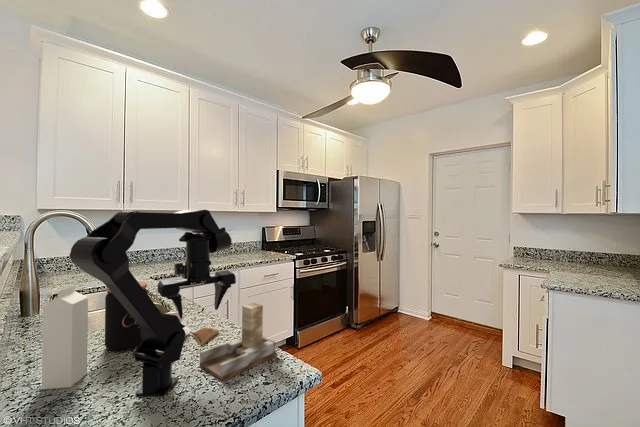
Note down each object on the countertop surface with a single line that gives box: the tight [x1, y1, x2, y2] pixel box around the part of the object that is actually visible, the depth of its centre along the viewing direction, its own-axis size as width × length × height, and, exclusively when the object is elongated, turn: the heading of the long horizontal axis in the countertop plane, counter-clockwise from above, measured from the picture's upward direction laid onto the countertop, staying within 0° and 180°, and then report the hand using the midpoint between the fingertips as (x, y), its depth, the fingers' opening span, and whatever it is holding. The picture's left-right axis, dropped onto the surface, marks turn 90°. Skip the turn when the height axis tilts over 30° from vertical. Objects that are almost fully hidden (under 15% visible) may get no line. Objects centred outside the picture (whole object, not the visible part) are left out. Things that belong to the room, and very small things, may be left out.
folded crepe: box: [191, 327, 220, 346], centre depth 96 cm, size 11×8×2 cm
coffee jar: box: [104, 281, 148, 353], centre depth 90 cm, size 11×11×18 cm
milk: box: [41, 284, 89, 390], centre depth 70 cm, size 6×6×22 cm
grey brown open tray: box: [199, 336, 278, 382], centre depth 81 cm, size 17×11×4 cm, turn 139°
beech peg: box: [236, 302, 264, 355], centre depth 84 cm, size 6×6×13 cm
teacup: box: [164, 311, 192, 337], centre depth 99 cm, size 12×12×6 cm
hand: (199, 313), depth 81 cm, fingers open, 9 cm apart
